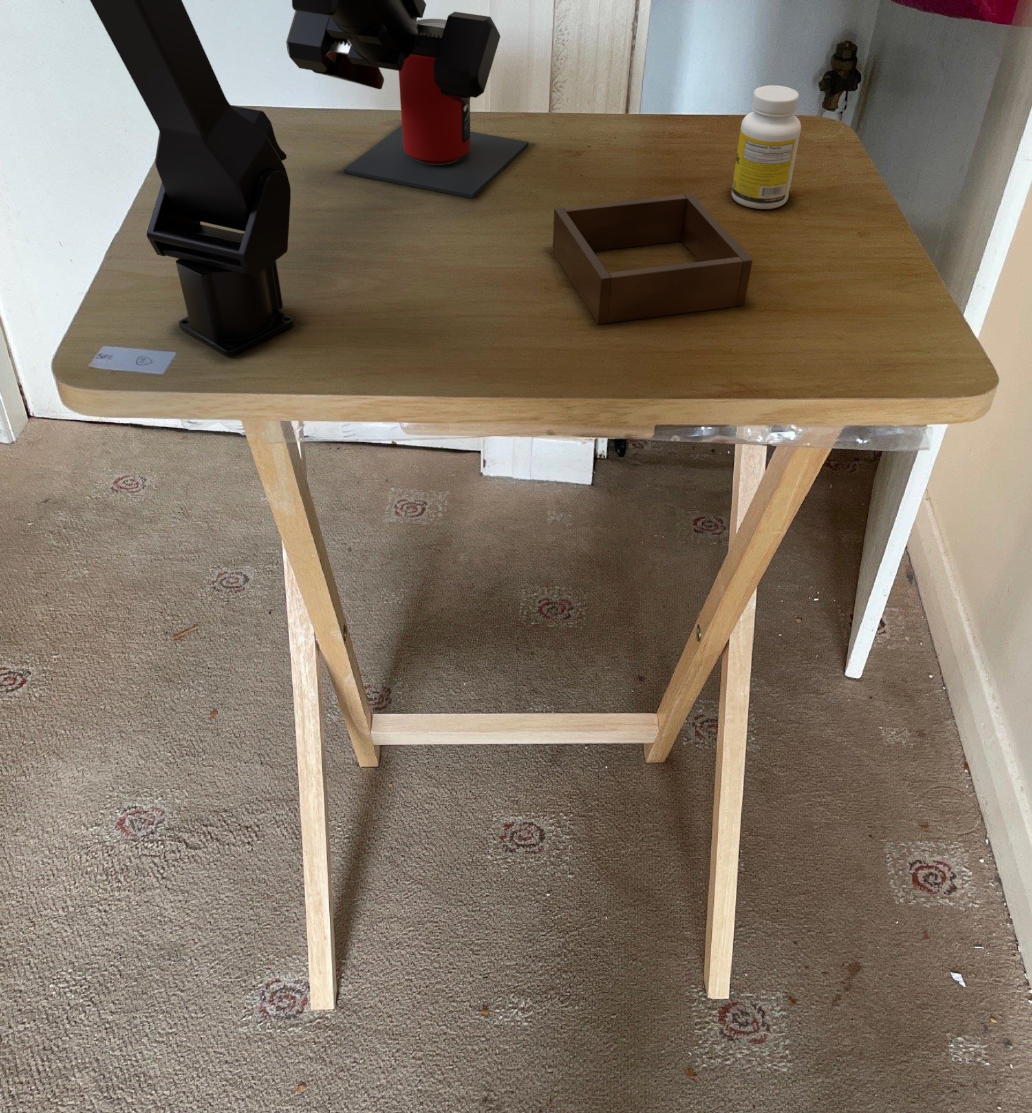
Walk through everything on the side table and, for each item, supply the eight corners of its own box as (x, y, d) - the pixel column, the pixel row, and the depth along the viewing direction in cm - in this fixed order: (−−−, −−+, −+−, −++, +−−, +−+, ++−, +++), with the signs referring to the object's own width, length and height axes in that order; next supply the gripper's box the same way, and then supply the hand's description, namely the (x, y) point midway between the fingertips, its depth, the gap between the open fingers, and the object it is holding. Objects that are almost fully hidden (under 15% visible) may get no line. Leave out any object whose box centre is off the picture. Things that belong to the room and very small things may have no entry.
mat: (472, 198, 98) (472, 194, 98) (343, 173, 102) (343, 169, 102) (528, 145, 108) (528, 141, 108) (408, 123, 112) (408, 120, 112)
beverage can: (484, 157, 105) (483, 29, 96) (430, 174, 101) (424, 43, 93) (443, 136, 108) (439, 11, 100) (390, 152, 105) (381, 24, 97)
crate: (597, 324, 82) (601, 278, 79) (552, 251, 91) (554, 207, 88) (744, 305, 85) (752, 259, 82) (686, 236, 93) (692, 193, 91)
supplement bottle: (745, 181, 102) (763, 77, 95) (796, 196, 100) (818, 90, 93) (720, 200, 99) (736, 94, 92) (772, 216, 97) (792, 108, 90)
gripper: (491, -92, 81) (539, 23, 96) (285, -115, 86) (361, -3, 101) (450, 45, 81) (505, 138, 96) (247, 14, 86) (329, 107, 101)
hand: (424, 91), depth 98 cm, fingers open, 9 cm apart
